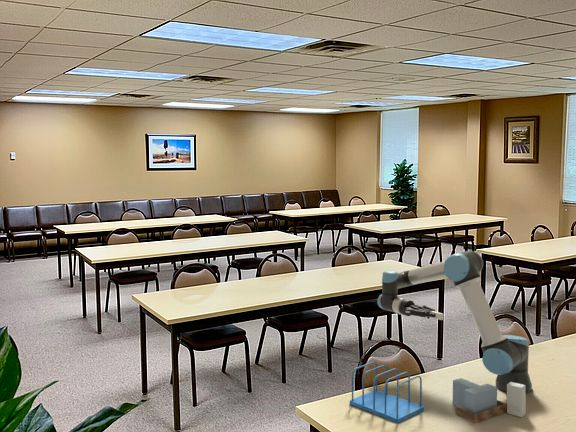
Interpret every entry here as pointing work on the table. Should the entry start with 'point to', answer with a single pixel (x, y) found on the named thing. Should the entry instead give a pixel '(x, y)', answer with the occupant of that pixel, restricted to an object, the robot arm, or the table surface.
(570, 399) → the table surface
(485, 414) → the brown wooden tray
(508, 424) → the table surface
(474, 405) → the grey l-shaped block
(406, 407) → the file sorter
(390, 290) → the robot arm
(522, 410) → the skincare box
